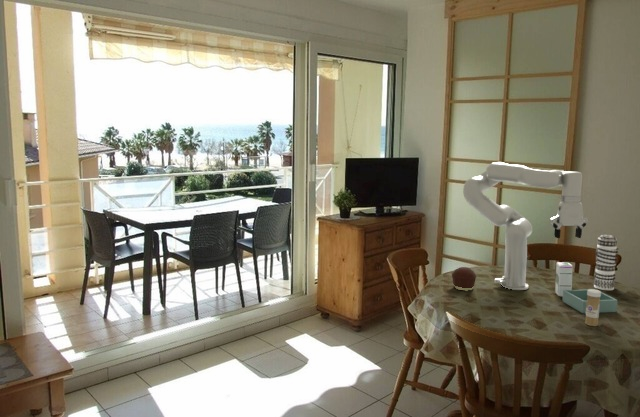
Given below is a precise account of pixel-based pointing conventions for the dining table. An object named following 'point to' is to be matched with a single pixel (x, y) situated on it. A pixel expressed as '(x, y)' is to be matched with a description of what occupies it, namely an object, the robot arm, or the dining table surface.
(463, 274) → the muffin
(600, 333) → the dining table surface
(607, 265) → the decorative candle
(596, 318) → the sprinkles bottle
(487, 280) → the dining table surface
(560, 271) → the syrup box
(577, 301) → the tote
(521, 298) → the dining table surface
